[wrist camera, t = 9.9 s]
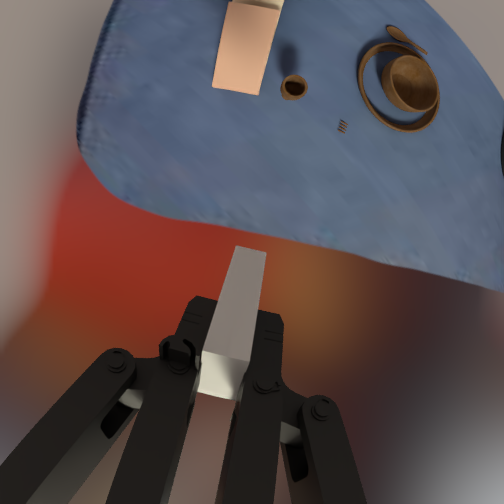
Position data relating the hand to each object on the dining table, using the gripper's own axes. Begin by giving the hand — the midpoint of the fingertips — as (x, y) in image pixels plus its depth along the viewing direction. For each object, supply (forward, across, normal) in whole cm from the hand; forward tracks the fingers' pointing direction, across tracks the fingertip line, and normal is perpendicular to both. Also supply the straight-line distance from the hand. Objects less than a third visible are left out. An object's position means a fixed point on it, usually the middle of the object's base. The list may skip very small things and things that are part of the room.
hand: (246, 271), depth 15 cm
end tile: (+20, -6, +8) cm, 22 cm away
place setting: (+24, +9, +15) cm, 30 cm away
